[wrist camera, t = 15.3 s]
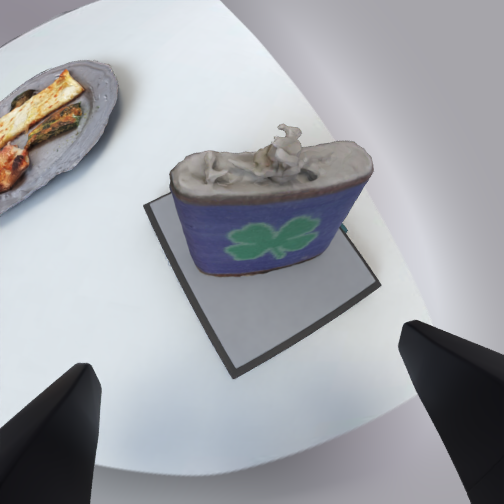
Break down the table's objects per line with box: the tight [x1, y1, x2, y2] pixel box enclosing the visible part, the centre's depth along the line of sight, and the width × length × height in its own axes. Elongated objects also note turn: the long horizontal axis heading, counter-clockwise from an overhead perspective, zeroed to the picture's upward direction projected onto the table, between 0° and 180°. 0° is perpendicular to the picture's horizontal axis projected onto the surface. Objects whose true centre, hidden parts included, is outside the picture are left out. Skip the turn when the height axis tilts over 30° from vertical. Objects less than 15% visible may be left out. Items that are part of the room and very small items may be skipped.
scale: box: [143, 192, 381, 379], centre depth 22 cm, size 14×12×2 cm
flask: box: [169, 124, 374, 278], centre depth 15 cm, size 9×3×11 cm, turn 101°
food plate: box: [0, 60, 119, 217], centre depth 26 cm, size 25×23×4 cm
